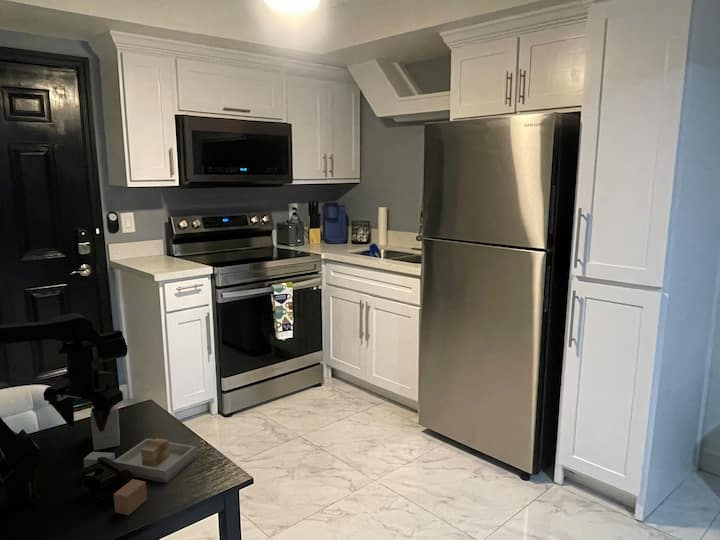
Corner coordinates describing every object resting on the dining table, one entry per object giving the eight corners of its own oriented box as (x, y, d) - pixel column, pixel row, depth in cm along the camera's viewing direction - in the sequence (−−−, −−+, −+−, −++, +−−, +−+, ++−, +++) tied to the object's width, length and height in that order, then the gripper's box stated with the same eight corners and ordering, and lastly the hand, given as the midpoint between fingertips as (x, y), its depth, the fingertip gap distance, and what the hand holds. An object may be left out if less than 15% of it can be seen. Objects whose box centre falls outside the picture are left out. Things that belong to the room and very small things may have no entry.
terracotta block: (128, 515, 114) (126, 496, 113) (115, 512, 115) (113, 494, 114) (147, 499, 120) (145, 481, 119) (134, 497, 121) (132, 479, 120)
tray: (166, 482, 126) (165, 471, 125) (114, 472, 131) (112, 461, 130) (196, 457, 138) (196, 446, 137) (147, 448, 142) (147, 438, 142)
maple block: (154, 468, 131) (152, 451, 130) (142, 466, 132) (140, 449, 131) (169, 456, 136) (168, 440, 136) (158, 454, 137) (156, 438, 137)
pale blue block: (116, 469, 132) (114, 453, 131) (107, 477, 129) (106, 460, 128) (94, 468, 133) (92, 451, 132) (85, 475, 130) (83, 458, 129)
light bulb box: (94, 434, 151) (90, 398, 149) (120, 429, 153) (117, 394, 152) (93, 451, 141) (89, 413, 139) (120, 445, 144) (117, 408, 142)
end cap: (134, 491, 123) (132, 465, 122) (105, 506, 117) (102, 479, 116) (112, 477, 129) (109, 452, 127) (82, 491, 123) (80, 464, 122)
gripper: (136, 359, 129) (141, 418, 132) (76, 352, 135) (82, 409, 137) (102, 375, 119) (108, 439, 121) (38, 367, 124) (45, 428, 127)
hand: (86, 428), depth 127 cm, fingers open, 9 cm apart
